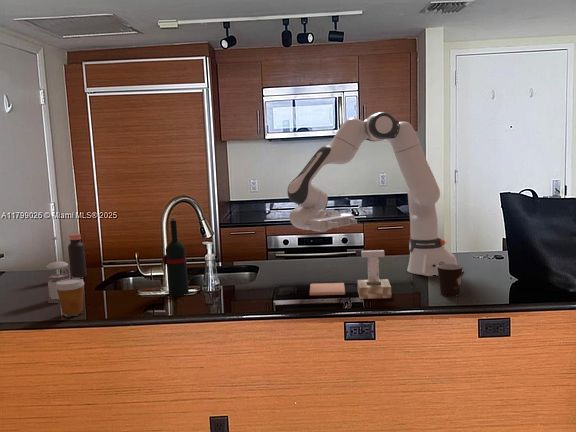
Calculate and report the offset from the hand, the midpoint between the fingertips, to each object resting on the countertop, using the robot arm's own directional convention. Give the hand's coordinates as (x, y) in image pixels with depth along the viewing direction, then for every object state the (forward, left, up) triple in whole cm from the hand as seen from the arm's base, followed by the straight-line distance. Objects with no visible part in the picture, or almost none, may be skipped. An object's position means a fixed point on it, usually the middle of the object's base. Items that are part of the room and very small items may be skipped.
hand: (347, 223), depth 203 cm
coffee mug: (-37, +11, -25) cm, 46 cm away
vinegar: (+121, -31, -25) cm, 128 cm away
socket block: (-9, +9, -25) cm, 28 cm away
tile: (+8, +2, -25) cm, 27 cm away
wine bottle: (+67, +1, -25) cm, 72 cm away
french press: (+111, +5, -25) cm, 114 cm away
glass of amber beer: (+97, +25, -25) cm, 104 cm away
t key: (-9, +9, -25) cm, 28 cm away
